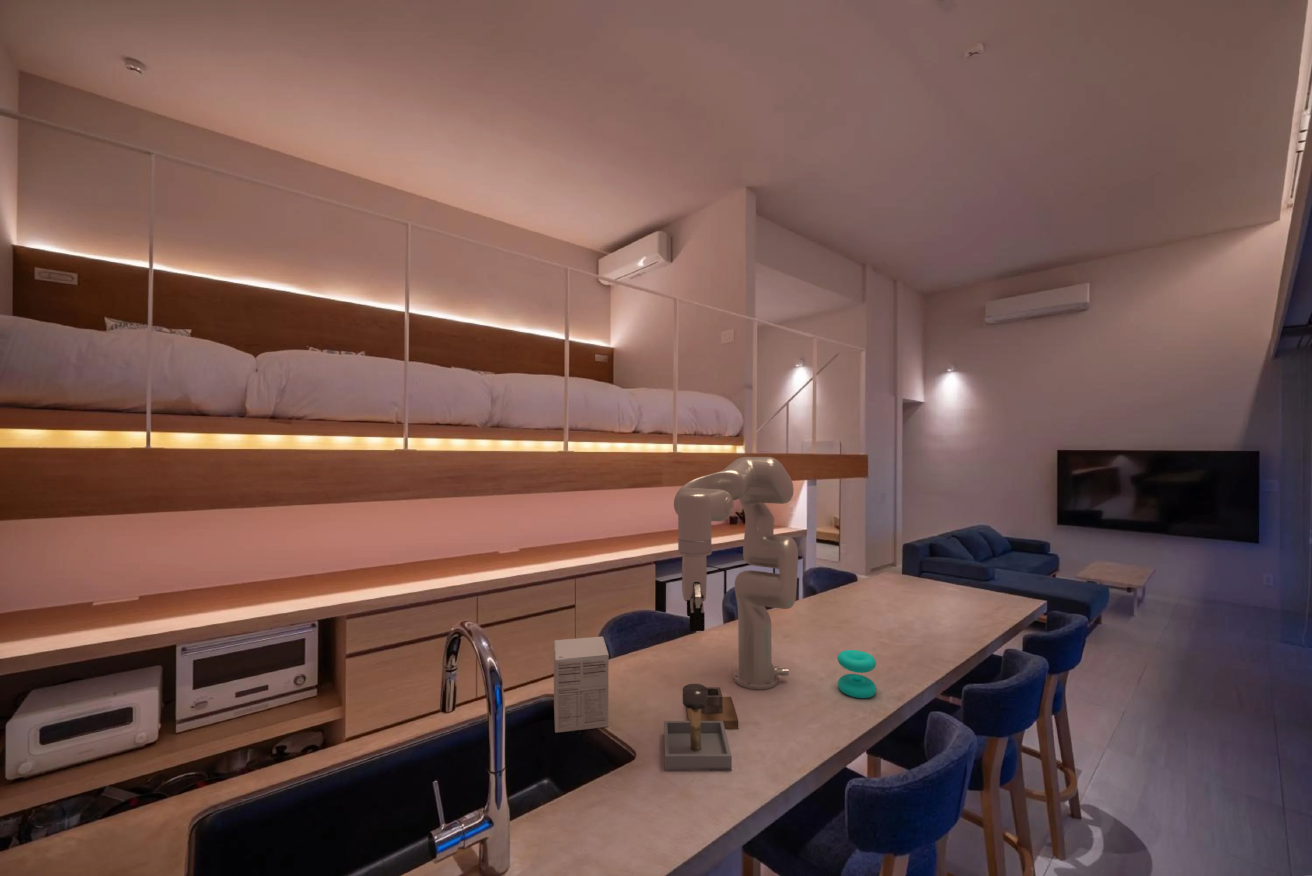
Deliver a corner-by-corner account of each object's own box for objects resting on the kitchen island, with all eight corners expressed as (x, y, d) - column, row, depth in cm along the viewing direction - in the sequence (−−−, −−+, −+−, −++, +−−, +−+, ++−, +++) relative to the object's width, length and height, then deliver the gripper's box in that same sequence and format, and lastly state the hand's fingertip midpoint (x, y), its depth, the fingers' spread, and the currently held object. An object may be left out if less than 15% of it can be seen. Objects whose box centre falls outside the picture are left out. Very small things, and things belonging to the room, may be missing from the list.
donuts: (866, 665, 136) (831, 655, 143) (867, 704, 136) (831, 691, 143) (881, 655, 143) (847, 645, 150) (882, 691, 142) (847, 680, 150)
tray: (723, 733, 122) (722, 720, 122) (731, 770, 108) (731, 756, 108) (664, 733, 122) (664, 721, 122) (665, 770, 108) (664, 756, 108)
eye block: (731, 704, 136) (731, 681, 136) (738, 729, 124) (738, 703, 124) (685, 704, 136) (685, 681, 136) (688, 729, 124) (688, 704, 124)
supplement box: (609, 727, 125) (609, 654, 125) (554, 734, 122) (554, 659, 122) (603, 701, 137) (603, 635, 138) (553, 706, 135) (553, 639, 135)
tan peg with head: (682, 741, 117) (681, 683, 118) (707, 741, 117) (706, 683, 118) (683, 755, 112) (683, 695, 112) (709, 755, 112) (708, 695, 112)
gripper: (676, 540, 125) (677, 610, 124) (680, 555, 107) (680, 637, 107) (707, 539, 125) (708, 610, 124) (715, 554, 107) (716, 637, 107)
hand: (695, 623), depth 116 cm, fingers open, 9 cm apart
